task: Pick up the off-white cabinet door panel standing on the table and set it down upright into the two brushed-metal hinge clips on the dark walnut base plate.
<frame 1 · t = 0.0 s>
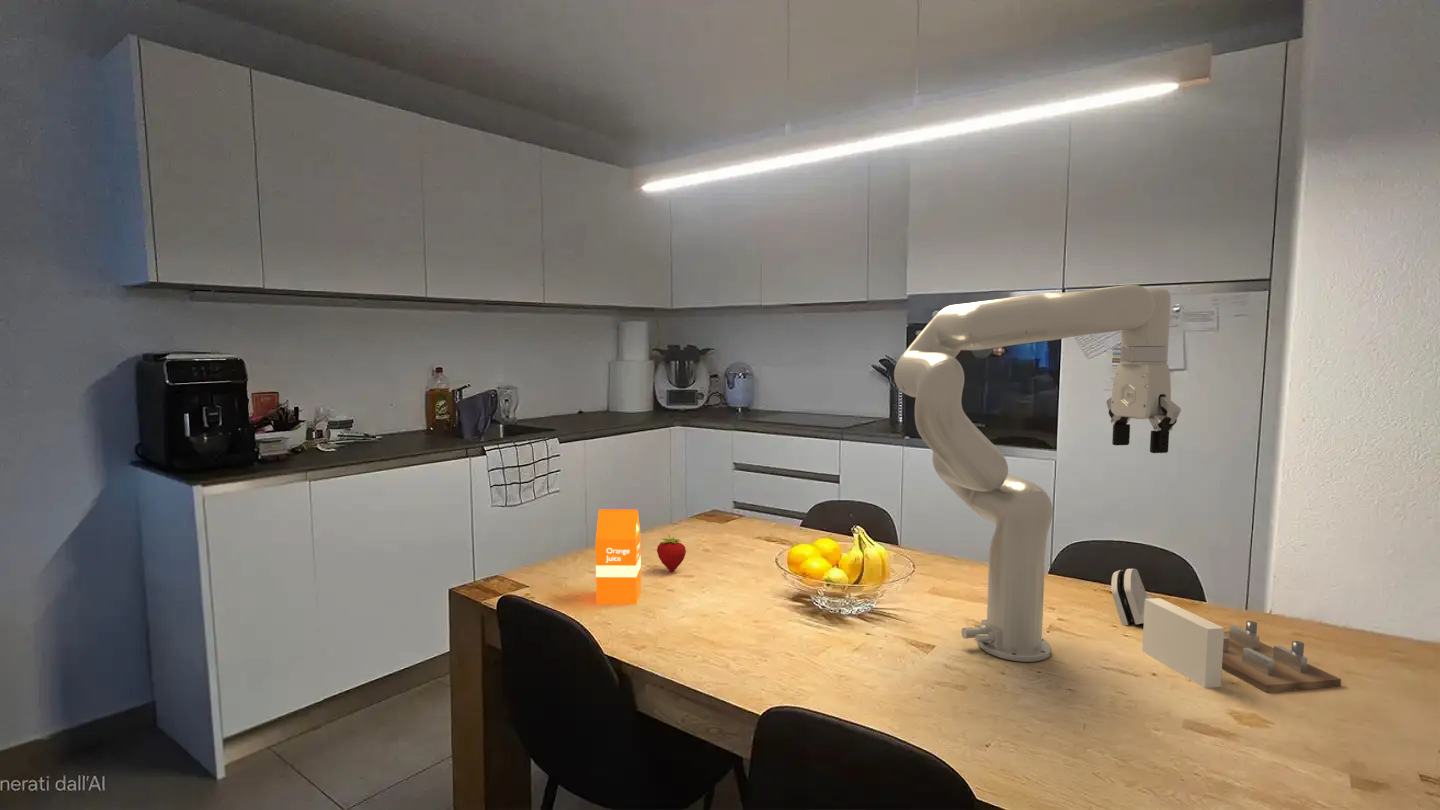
hand: (1139, 448, 133), 37 cm above the table, tool pointing down, fingers open, 9 cm apart
orange juice: (619, 598, 159), on the table
door panel: (1179, 668, 125), on the table
hinge clip rail: (1249, 662, 127), on the table
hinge: (1132, 614, 150), on the table
strawberry: (671, 572, 177), on the table
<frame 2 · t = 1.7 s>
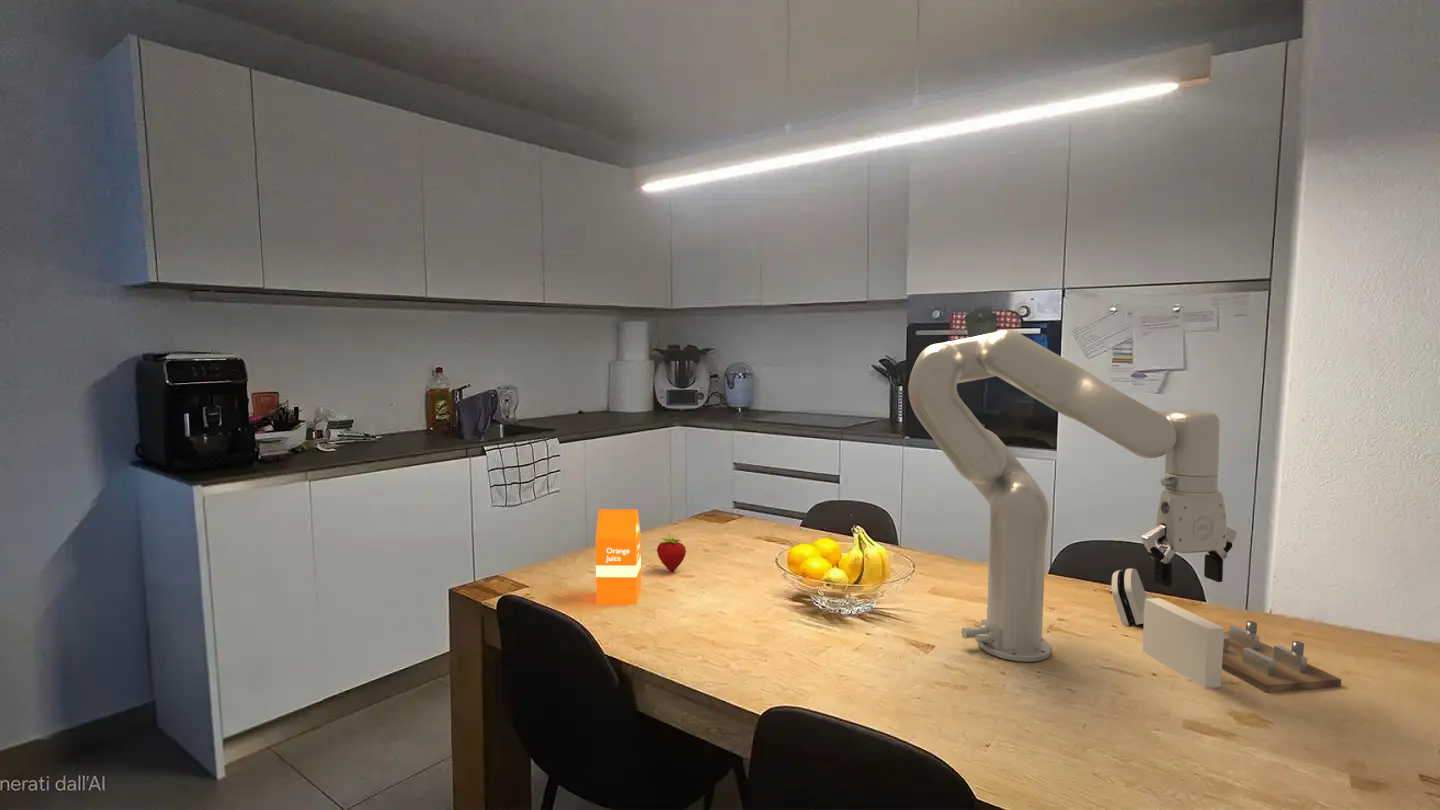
hand: (1188, 581, 123), 15 cm above the table, tool pointing down, fingers open, 9 cm apart
nothing on the table moved.
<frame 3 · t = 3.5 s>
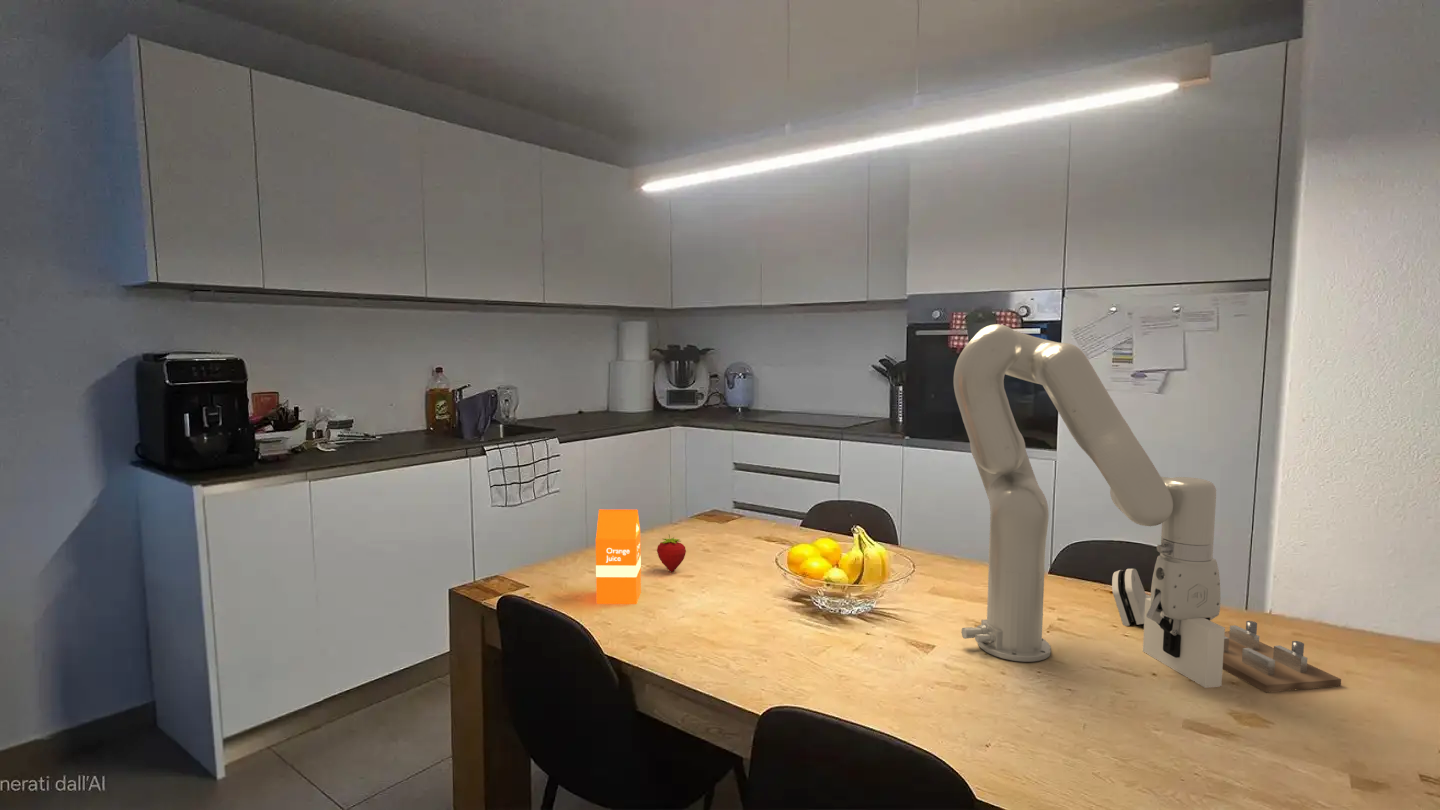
hand: (1180, 652, 124), 3 cm above the table, tool pointing down, fingers closed on door panel, 3 cm apart
door panel: (1179, 668, 125), on the table, touching gripper
everything else where it was.
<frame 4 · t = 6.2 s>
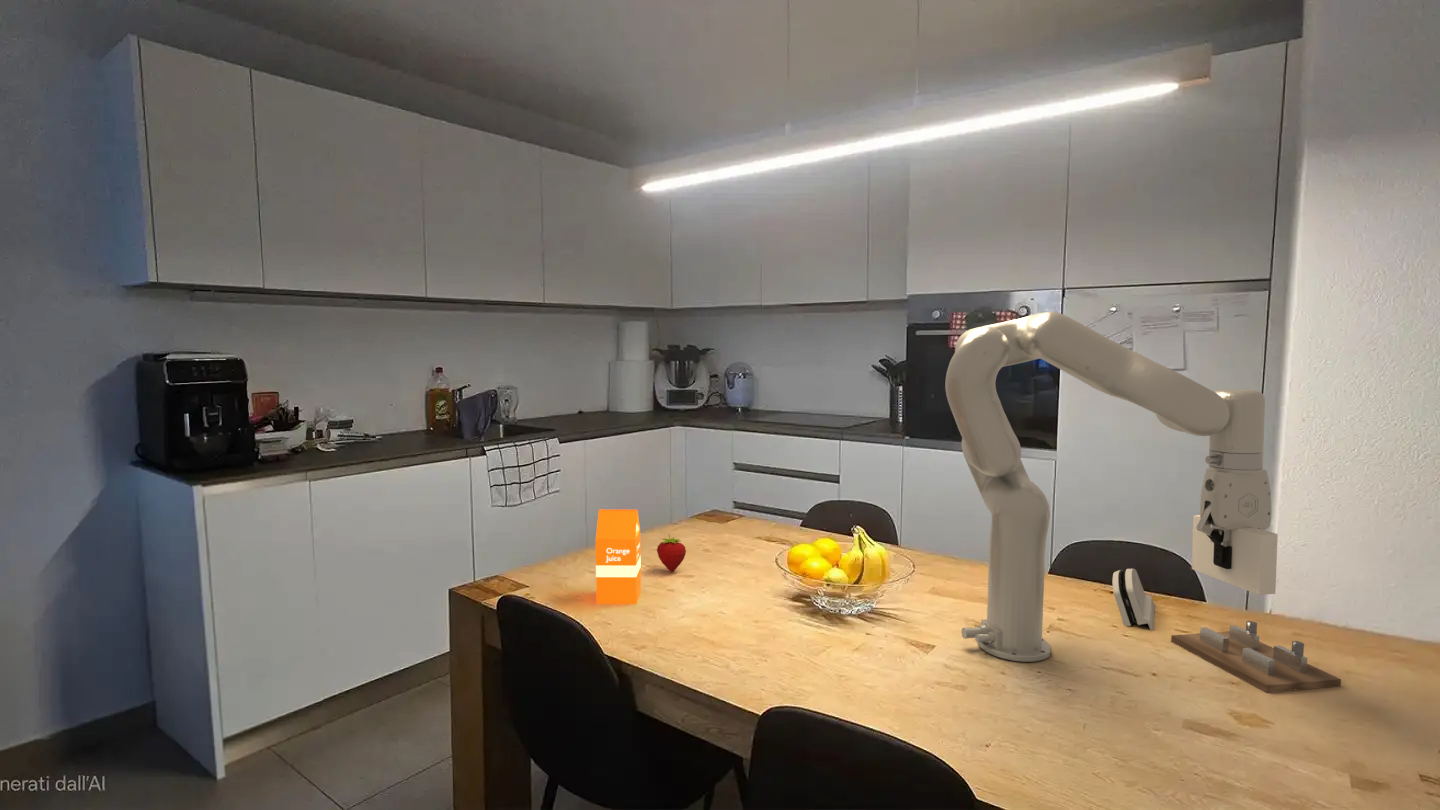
hand: (1231, 565, 124), 18 cm above the table, tool pointing down, fingers closed on door panel, 3 cm apart
door panel: (1231, 580, 124), point 15 cm above the table, touching gripper
everything else where it was.
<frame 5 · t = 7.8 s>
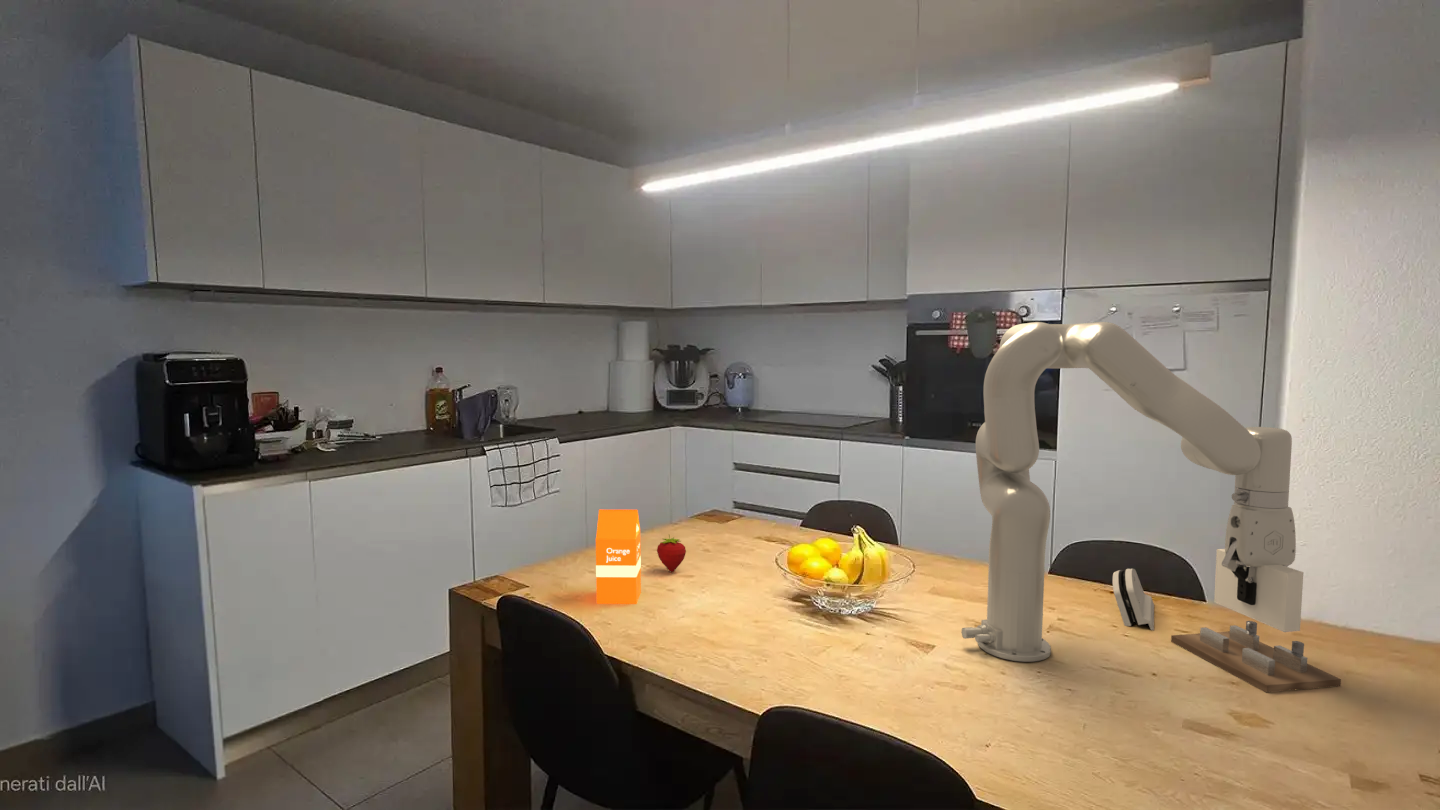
hand: (1255, 600, 126), 11 cm above the table, tool pointing down, fingers closed on door panel, 3 cm apart
door panel: (1254, 615, 126), point 9 cm above the table, touching gripper
everything else where it was.
when the fingers open (5 cm above the table, at t = 9.1 s): door panel drops 1 cm, resting on hinge clip rail.
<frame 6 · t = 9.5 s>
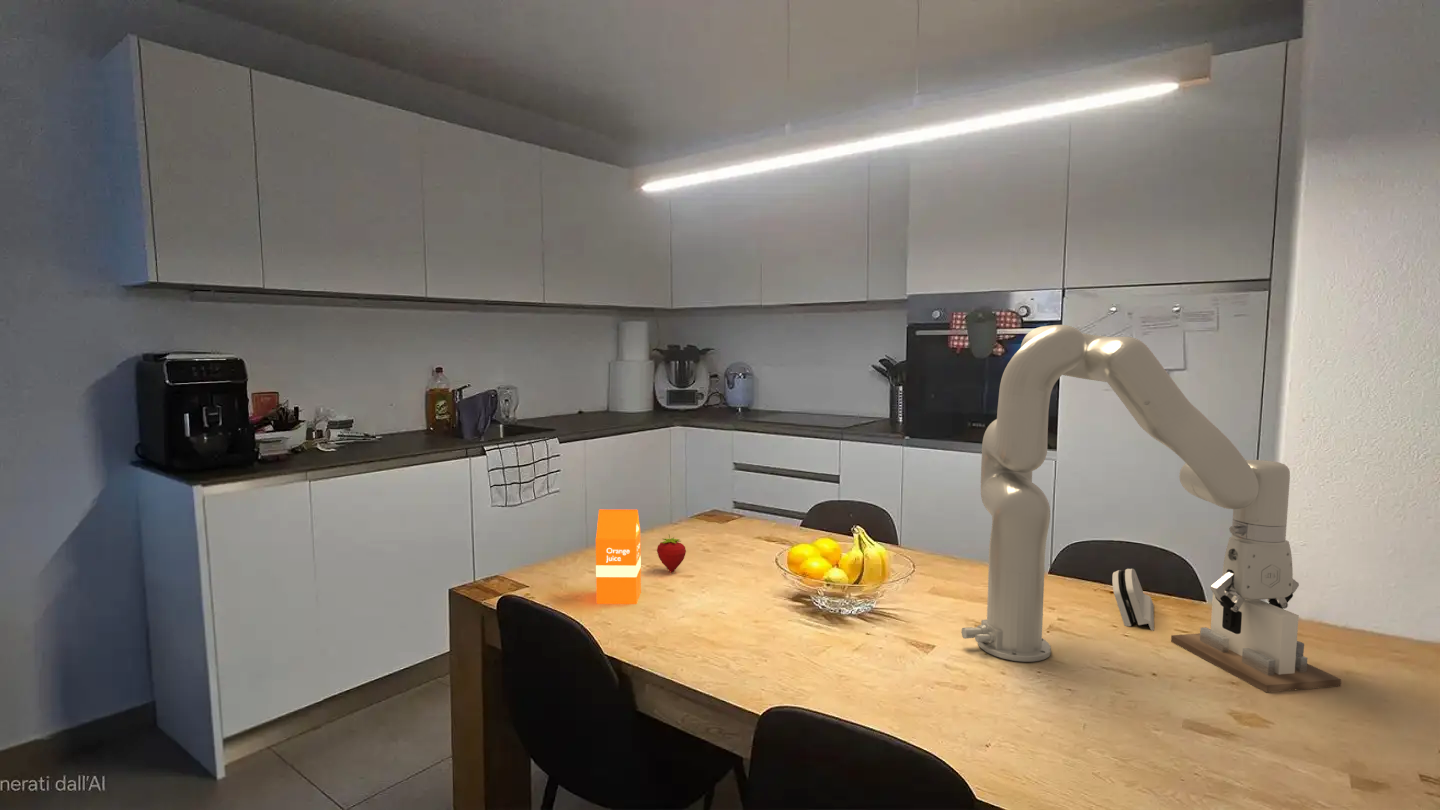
hand: (1252, 628, 126), 6 cm above the table, tool pointing down, fingers open, 7 cm apart
door panel: (1250, 655, 127), point 1 cm above the table, touching hinge clip rail
everything else where it was.
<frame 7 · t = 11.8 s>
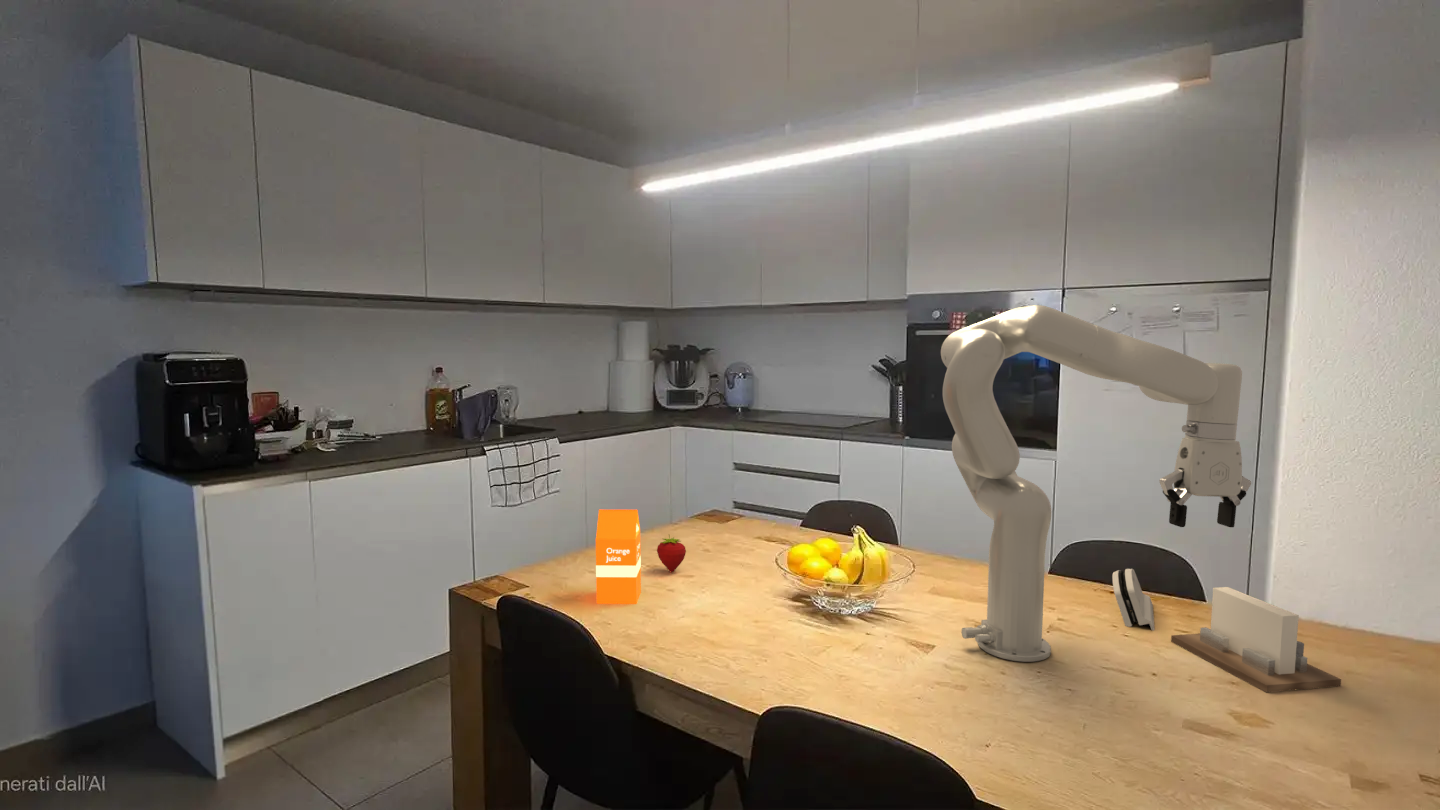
hand: (1201, 525, 130), 23 cm above the table, tool pointing down, fingers open, 9 cm apart
nothing on the table moved.
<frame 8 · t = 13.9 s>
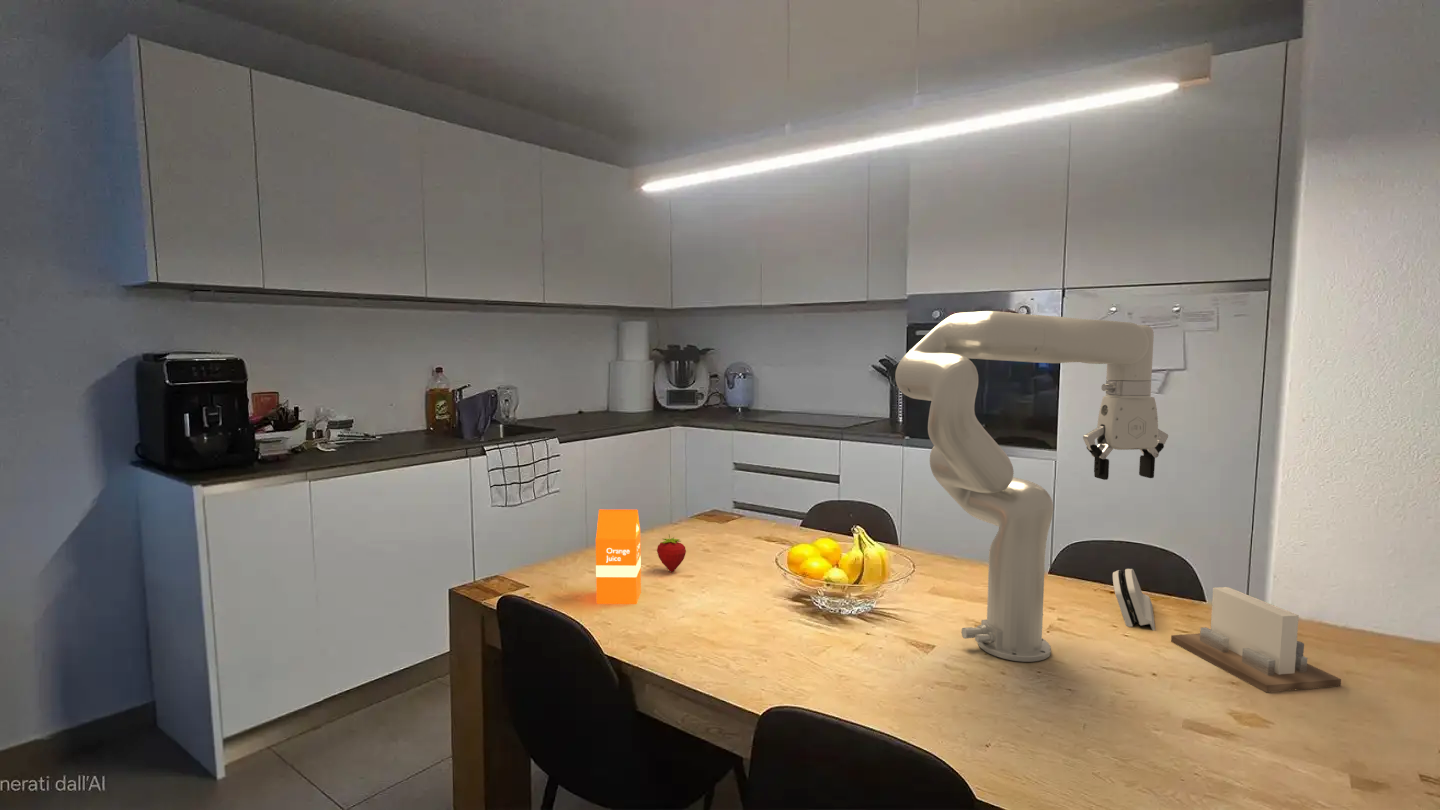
hand: (1123, 477, 139), 30 cm above the table, tool pointing down, fingers open, 9 cm apart
nothing on the table moved.
at the end: door panel 0.1 cm off-centre on the hinge clip rail, point 1.2 cm above the hinge clip rail's base; door panel tilted 0°; the gripper is holding nothing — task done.
